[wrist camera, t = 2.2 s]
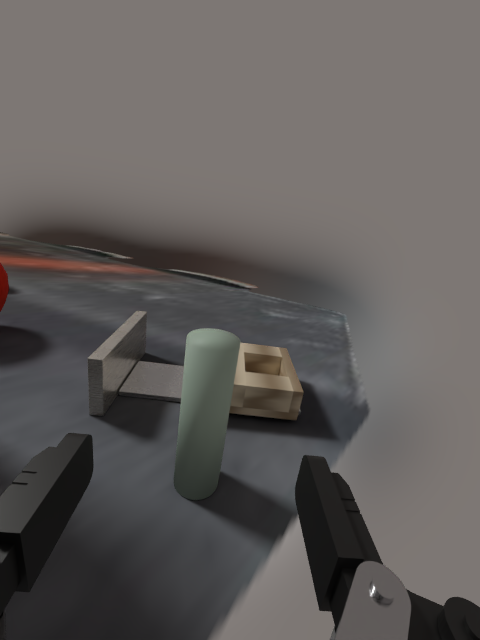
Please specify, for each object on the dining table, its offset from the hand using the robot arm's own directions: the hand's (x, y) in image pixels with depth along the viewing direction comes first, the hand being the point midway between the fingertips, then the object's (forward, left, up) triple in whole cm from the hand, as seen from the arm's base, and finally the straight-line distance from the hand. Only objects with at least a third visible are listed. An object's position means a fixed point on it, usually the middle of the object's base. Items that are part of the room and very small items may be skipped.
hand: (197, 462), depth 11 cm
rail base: (0, +26, -14) cm, 30 cm away
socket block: (+4, +26, -14) cm, 30 cm away
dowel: (0, +11, -14) cm, 18 cm away
